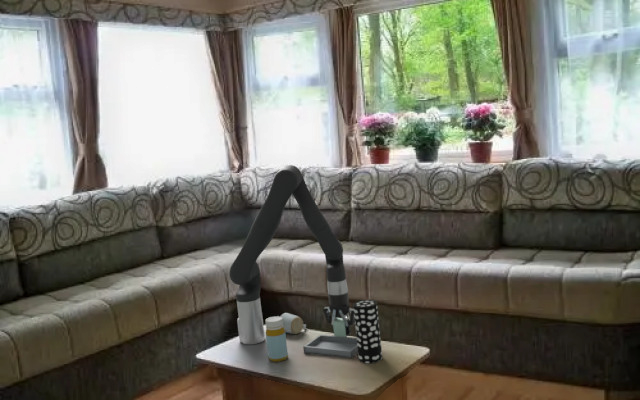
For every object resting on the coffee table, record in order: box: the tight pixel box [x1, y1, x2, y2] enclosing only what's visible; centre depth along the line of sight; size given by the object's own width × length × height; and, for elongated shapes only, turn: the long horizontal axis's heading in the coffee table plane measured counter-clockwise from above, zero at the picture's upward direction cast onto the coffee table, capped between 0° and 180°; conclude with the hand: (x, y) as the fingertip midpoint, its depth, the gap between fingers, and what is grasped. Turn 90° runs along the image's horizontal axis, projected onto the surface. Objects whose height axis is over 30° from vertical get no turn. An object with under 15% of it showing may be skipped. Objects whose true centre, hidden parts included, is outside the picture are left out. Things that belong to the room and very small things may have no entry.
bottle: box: [265, 315, 289, 363], centre depth 236 cm, size 7×7×15 cm
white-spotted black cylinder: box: [352, 299, 383, 364], centre depth 227 cm, size 8×8×20 cm
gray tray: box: [302, 334, 358, 359], centre depth 240 cm, size 20×13×2 cm, turn 60°
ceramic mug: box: [279, 312, 307, 335], centre depth 264 cm, size 11×8×8 cm
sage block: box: [332, 317, 349, 337], centre depth 249 cm, size 5×5×6 cm
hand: (342, 334), depth 250 cm, fingers closed on sage block, 4 cm apart
